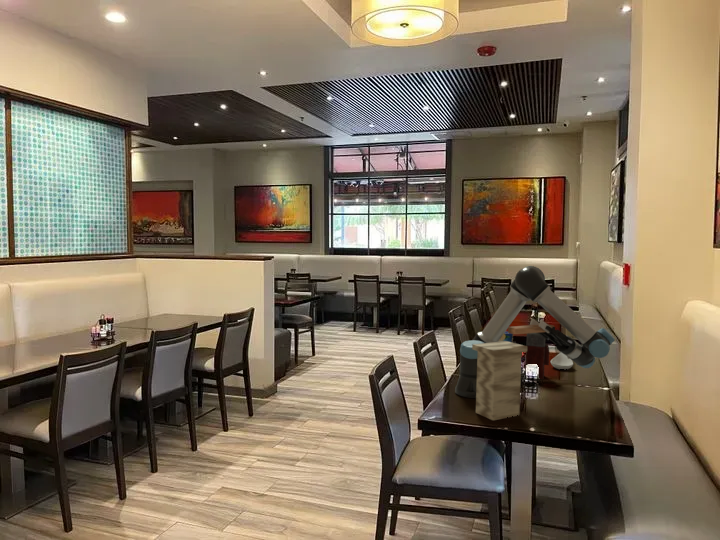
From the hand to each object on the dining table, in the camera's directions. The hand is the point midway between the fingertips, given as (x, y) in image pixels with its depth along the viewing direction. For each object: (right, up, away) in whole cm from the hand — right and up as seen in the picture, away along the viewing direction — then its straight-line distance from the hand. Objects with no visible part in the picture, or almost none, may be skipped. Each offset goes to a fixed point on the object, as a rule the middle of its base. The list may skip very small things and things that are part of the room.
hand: (535, 322), depth 213 cm
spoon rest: (+41, -33, +77) cm, 93 cm away
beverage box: (+1, -33, +59) cm, 68 cm away
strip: (-2, -4, -1) cm, 5 cm away
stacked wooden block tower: (-17, -36, -5) cm, 41 cm away
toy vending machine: (+18, -34, +52) cm, 65 cm away
